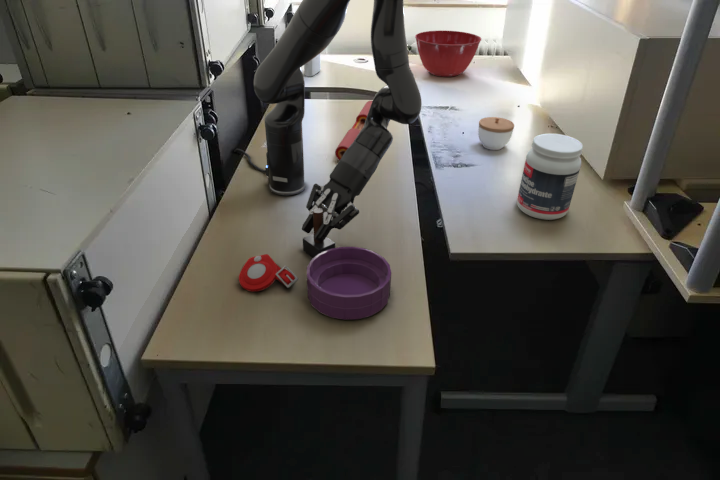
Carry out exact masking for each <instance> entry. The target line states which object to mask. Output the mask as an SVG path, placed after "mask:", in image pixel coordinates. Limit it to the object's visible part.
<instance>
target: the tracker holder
mask: <svg viewBox="0 0 720 480" xmlns="http://www.w3.org/2000/svg"><path fill="white" fill-rule="evenodd" d="M276 280H277V281H278V282H279V283H281V285H283V286H285V287H286V288H287V289H289V288H290V287H291V286H292V285H294V284H295V283H296V282H297V281H298V280H299V278H298V277H297V275H296V274H295V273H294V272H293V271H292V270H291V269H290V268H289V266H287V265H284V266H283V267H280V266H279V265H278V264H277V263H276V262H275V261H274V260H273V258H272V257H271V255H270V254H268V253H264V254H259V255H255V256H251V257H249V258H248V259H247V260H246V262H245V263H244V265H243V266H242V268H241V269H240V272H239V274H238V282H239V284H240V286H241V287H242V288H243V289H244V290H245V291H248V292H255V293H256V292H261V291H263V290H265V289H267V288H269V287H270V286H271V285H273V284H274V282H275V281H276Z"/></svg>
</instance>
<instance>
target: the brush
mask: <svg viewBox="0 0 720 480" xmlns="http://www.w3.org/2000/svg"><path fill="white" fill-rule="evenodd" d="M324 222H325V218H324V213H323V209H321V208H315V209H314V210H313V229H312V230H313V233H310V234H309V235H306V236H304V237H302V251H303V253H305V254H306V255H308V256H309V257H310V258H311V259H313V258H314V257H315V256H317V255H318V254H319V253H322V252H324V251H326V250H329V249H333V248H336V242H335V241H333V239H330V238H329V237H328V236H327V237H326V238H325V240H323V241H322V242H319V241H317V240H316V239H314V236H315V234H316V233H317V231H318V230H319V228H320V227H321V225H322V223H323V224H325V223H324Z"/></svg>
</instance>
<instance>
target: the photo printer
mask: <svg viewBox="0 0 720 480" xmlns="http://www.w3.org/2000/svg"><path fill="white" fill-rule="evenodd" d="M303 68H304V69H303V71H304V73H303V74H304V76H305V77H314V76H315V75H317V74H318V73H320V72H321V53H320V54H319V55H317V56H316V57H315V58H313V59H312V60H310V61H309V62H308V63H306V64H305V65H303Z"/></svg>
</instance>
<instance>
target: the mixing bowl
mask: <svg viewBox="0 0 720 480" xmlns="http://www.w3.org/2000/svg"><path fill="white" fill-rule="evenodd" d="M414 38H415V42H416V47H417V52H418V55H419V59H420V62H421V63H422V66H423V68H424V69H425V70H426V71H427V72H428V73H430V74H431V75H433V76H435V77H444V78H446V77H448V78H449V77H450V78H451V77H456V76H459V75H461V74H462V73H464V72H465V71H466V70H467V69H468V68H469V66H470V64H471V63H472V61H473V59H474V57H475V56H476V53H477V51H478V48H479V46H480V43H481V41H482V38H481V36H479V35H477V34H474V33H470V32H465V31H457V30H427V31H422V32H418V33H416V34H415V36H414Z"/></svg>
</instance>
